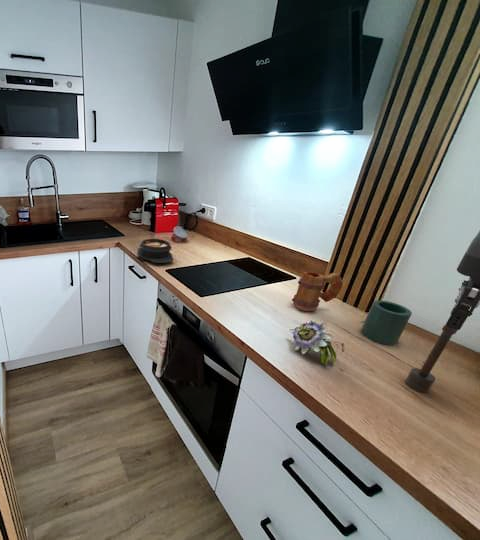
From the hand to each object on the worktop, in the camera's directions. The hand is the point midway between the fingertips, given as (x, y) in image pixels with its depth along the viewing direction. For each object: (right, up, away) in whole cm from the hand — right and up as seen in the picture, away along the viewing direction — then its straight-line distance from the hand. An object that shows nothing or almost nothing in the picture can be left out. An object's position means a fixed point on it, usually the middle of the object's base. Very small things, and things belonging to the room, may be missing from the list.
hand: (454, 321), depth 65 cm
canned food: (-39, +31, +119) cm, 129 cm away
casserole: (-58, +19, +88) cm, 107 cm away
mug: (-5, -3, +43) cm, 43 cm away
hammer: (-1, -18, +8) cm, 20 cm away
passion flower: (-20, -13, +19) cm, 31 cm away
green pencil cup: (+7, -10, +27) cm, 30 cm away
